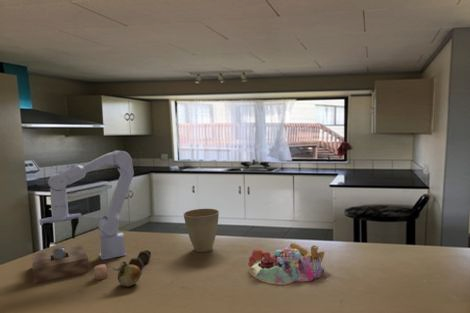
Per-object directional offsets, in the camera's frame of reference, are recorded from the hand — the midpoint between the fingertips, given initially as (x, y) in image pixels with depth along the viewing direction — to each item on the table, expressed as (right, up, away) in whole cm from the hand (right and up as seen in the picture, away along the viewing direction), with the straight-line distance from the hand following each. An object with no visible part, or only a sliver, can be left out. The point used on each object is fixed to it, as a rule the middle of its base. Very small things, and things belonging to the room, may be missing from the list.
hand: (62, 239), depth 139 cm
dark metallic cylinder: (+1, -11, -3) cm, 11 cm away
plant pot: (+53, -7, +13) cm, 56 cm away
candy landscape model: (+85, -8, -13) cm, 87 cm away
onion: (+32, -11, -19) cm, 39 cm away
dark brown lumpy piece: (+31, -10, -2) cm, 33 cm away
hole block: (+1, -11, -3) cm, 11 cm away
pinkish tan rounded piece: (+20, -10, -12) cm, 26 cm away
